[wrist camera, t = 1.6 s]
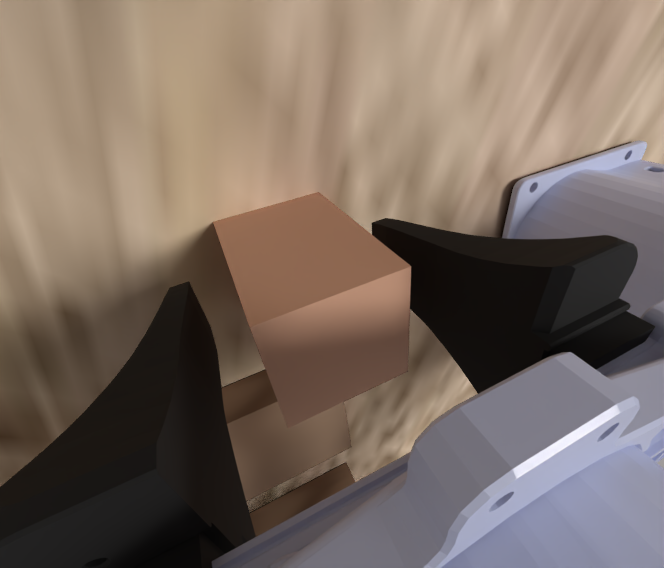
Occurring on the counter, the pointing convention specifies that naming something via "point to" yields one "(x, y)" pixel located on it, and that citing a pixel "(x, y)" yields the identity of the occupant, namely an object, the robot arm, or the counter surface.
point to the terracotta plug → (318, 302)
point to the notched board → (282, 449)
